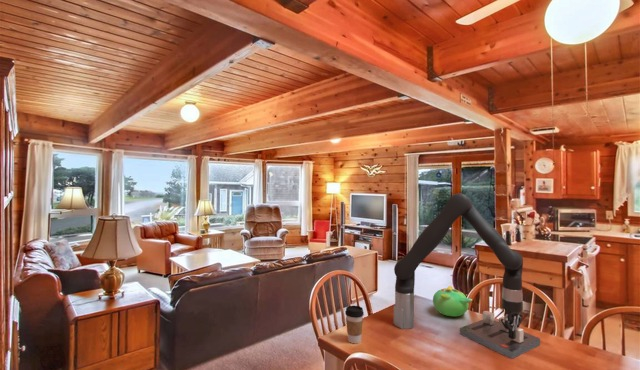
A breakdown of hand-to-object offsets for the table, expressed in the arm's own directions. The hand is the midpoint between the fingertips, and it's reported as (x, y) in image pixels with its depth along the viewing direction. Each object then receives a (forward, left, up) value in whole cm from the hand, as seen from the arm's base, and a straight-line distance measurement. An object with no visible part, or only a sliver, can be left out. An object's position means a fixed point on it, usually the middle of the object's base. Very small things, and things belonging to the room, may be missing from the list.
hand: (511, 338), depth 134 cm
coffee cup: (-54, +40, -5) cm, 67 cm away
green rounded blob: (+7, +36, -5) cm, 37 cm away
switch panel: (+4, +8, -5) cm, 10 cm away
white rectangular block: (+4, 0, -2) cm, 4 cm away
